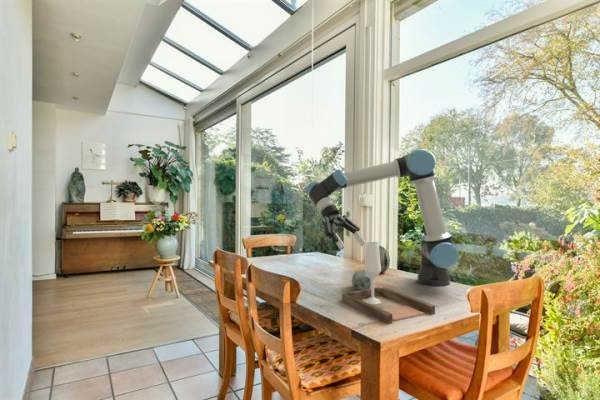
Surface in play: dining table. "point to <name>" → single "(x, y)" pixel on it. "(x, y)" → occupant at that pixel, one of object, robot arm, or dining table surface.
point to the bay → (376, 312)
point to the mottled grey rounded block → (361, 280)
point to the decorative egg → (384, 259)
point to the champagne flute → (372, 267)
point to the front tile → (403, 312)
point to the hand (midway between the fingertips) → (353, 245)
